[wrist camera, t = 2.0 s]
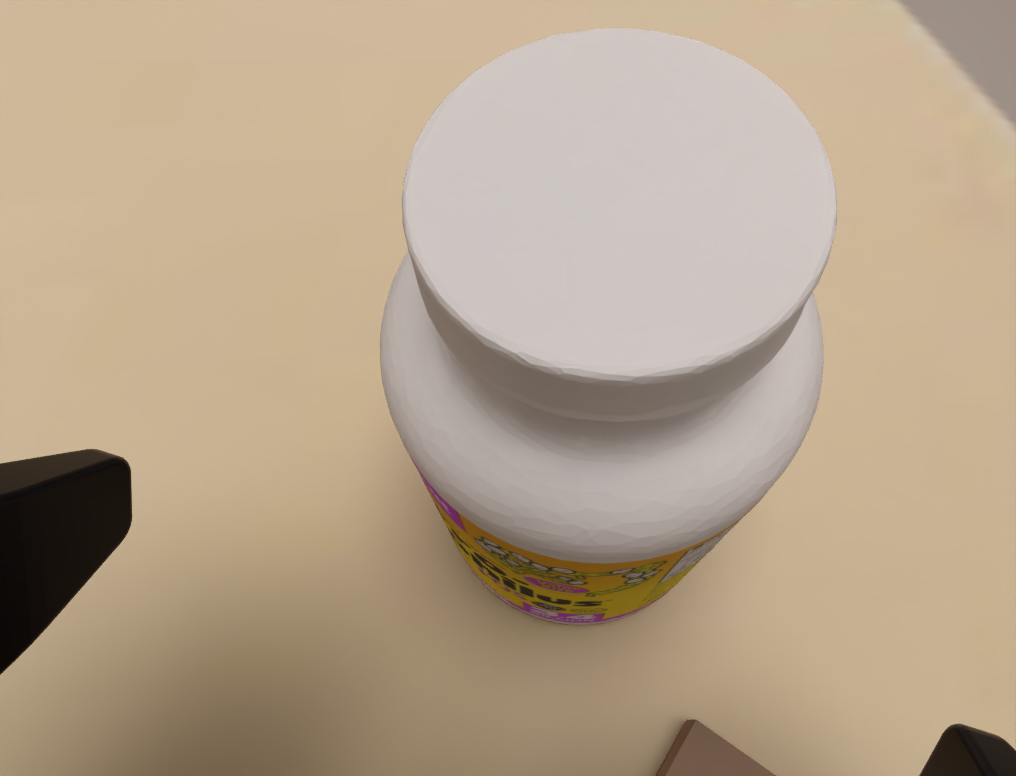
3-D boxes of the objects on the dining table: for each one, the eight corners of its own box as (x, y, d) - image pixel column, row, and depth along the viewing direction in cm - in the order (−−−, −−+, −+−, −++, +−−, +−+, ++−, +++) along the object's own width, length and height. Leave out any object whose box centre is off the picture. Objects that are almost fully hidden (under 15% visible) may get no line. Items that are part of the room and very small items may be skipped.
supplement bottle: (399, 503, 20) (181, 191, 8) (567, 342, 22) (586, -106, 10) (586, 691, 18) (653, 637, 6) (756, 496, 19) (1067, 156, 8)
